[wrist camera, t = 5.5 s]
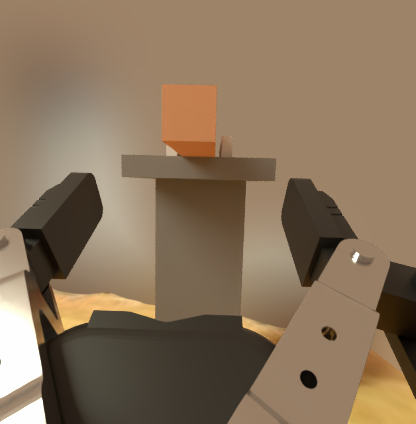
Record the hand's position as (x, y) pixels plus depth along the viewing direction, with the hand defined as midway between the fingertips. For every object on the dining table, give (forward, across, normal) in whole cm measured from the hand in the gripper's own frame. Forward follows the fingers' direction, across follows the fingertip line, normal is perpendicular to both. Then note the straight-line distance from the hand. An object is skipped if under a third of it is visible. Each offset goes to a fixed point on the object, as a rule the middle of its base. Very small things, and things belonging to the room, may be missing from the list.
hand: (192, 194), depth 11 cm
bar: (+14, 0, -5) cm, 15 cm away
